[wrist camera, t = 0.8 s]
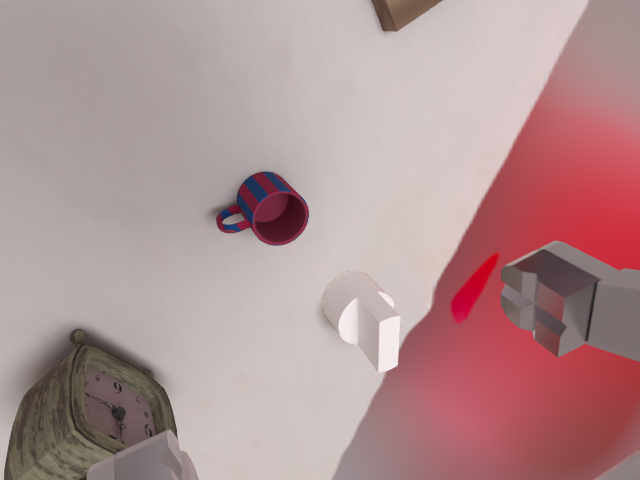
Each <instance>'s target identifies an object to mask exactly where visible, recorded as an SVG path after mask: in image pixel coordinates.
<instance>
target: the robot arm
mask: <svg viewBox="0 0 640 480" xmlns="http://www.w3.org/2000/svg"><path fill="white" fill-rule="evenodd" d="M501 280H502V281H503V282H504V283H505V284H506V285H505V287H504V289H503V291H502V293H501V305H502V308H503V310H504V312H505V314H506V316H507V317H508V318H509V319H510V320H511V322H513V323H514V324H515V325H516V326H518V327H519V328H520V329H525V330H529V331H532V332H533V335H534V339H535V340H536V341H537V342H538V343H539V344H541V345H542V346H544V347H545V348H546V349H547V350H548V351H550V352H551V353H552V354H554V355H555V356H556V357H560V356H562V355H564V354H566V353H568V352H570V351H572V350H574V349H576V348H577V347H579V346H581V345H583V344H585V343H587V342H588V343H587V344H588V345H590V346H594V347H597V348H600V349H603V350H606V351H609V352H612V353H615V354H618V355H621V356H624V357H627V358H630V359H633V360H637V361H639V362H640V270H632V269H625V268H624V269H622V270H620V271H619V270H617V269H615V268H613V267H611V266H609V265H607V264H605V263H603V262H601V261H599V260H597V259H595V258H593V257H591V256H589V255H587V254H585V253H583V252H582V251H579V250H578V249H576V248H573V247H572V246H570V245H567V244H566V243H564V242H561V241H553V242H551V243H549V244H547V245H545V246H543V247H541V248H539V249H538V250H535V251H533V252H531V253H529V254H527V255H525V256H523V257H521V258H519V259H517V260H515V261H513V262H511V263H509V264H507V265H505V266H504V267H503V269H502V271H501ZM87 480H199V479H198V476H197V473H196V470H195V467H194V465H193V463H192V461H191V459H190V457H189V456H188V454H187V453H186V452H184V451H180V449H179V443H178V439H177V437H176V436H175V435H174V433H173V432H172V430H166V431H164V432H162V433H160V434H158V435H155V436H153V437H151V438H149V439H147V440H144V441H142V442H140V443H138V444H136V445H134V446H131V447H129V448H127V449H125V450H123V451H120V452H118V453H117V454H115V455H113V456H111V457H108V458H106V459H104V460H102V461H100V462H98V463H95V464H93V465H91V466H90V469H89V471H88V474H87ZM594 480H640V449H639V450H638V451H636V452H635V453H633V454H632V455H630V456H629V457H627V458H626V459H624V460H623V461H621V462H620V463H618V464H617V465H615V466H614V467H612V468H611V469H609V470H608V471H606V472H605V473H603V474H602V475H600V476H599V477H597V478H596V479H594Z"/></svg>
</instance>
